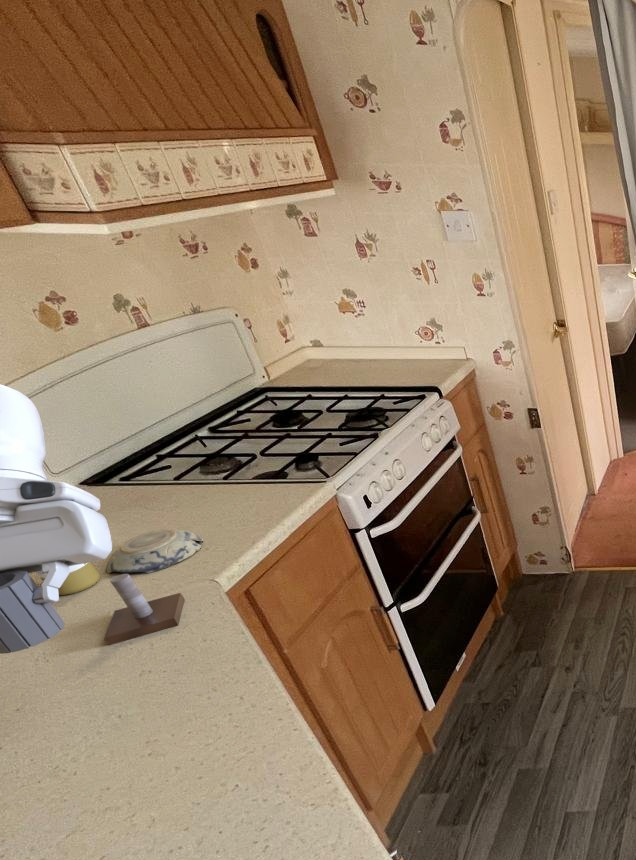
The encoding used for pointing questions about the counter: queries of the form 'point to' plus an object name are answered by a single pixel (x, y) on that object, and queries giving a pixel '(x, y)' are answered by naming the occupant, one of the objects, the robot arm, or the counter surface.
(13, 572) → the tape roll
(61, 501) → the robot arm
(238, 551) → the counter surface
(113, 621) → the stand
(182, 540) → the decorative bowl
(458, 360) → the counter surface
